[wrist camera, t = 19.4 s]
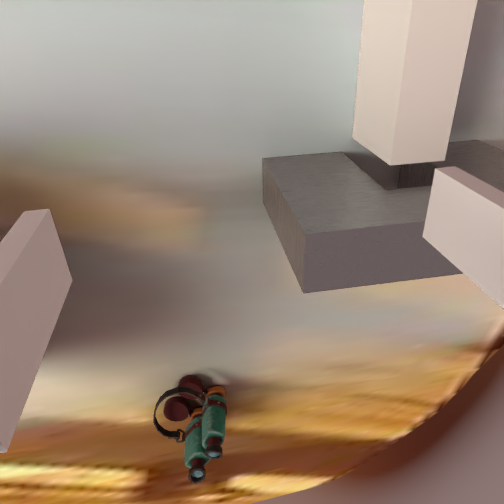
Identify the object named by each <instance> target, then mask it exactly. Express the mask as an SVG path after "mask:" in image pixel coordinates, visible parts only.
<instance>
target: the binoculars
mask: <svg viewBox="0 0 504 504" xmlns="http://www.w3.org/2000/svg"><path fill="white" fill-rule="evenodd" d="M203 392H204V394H203ZM177 393H179V394H180V395H181V396H182V397H184V398H187V399H199V400H200V401H201V402H202V405H203V407H200V408H196V409H194V410H191V409H189V405H188V403H187V402H186V401H185V400H184V399H183V398H181V397H172V398H169V399H168V400H167V401H166V403H165V407H164V415H165V417H166V418H167V419H169V420H171V421H182V420H185V419H186V418H187V417H188V415H190V418H191V420H192V422H191V423H190V424H189V425H188V426H187V428H186V433H185V432H184V431H183V430H181V429H178V430H177V431H168V430H165V429H164V428H163V427H161V426H160V425H159V424H158V421H157V419H156V417H155V412H156V409H157V407H158V405H159V404H160V403H161V402H162V401H163V400H164V399H165V398H166V397H168V396H171V395H174V394H177ZM205 401H206V402H205ZM204 403H205V404H204ZM226 413H227V406H226V400H225V389H224V388H223V387H221V386H215V387H211V388H209V389H206V388H204V385H203V383H202V382H201V381H200V380H199V379H198V378H196V377H192V376H186V377H183V378H182V379H181V380H180V382H179V386H178V387H177V388H174V389H171V390H168V391H166V392H165V393H164V394H163V395H162V396H161V397H160V398H159V400H158V402H157V404H156V407H155V411H154V425H155V427H156V429H157V431H158V432H160V433H161V434H162V435H163V436H165V437H168V438H169V439H170V438H174V439H176V442H177V443H180V442H183V441H185V465H186V466H187V467H189V468H190V470H189V477H188V478H189V481H190V482H191V483H194V484H198V483H201V482H202V481H203V480H204V479H205V477H206V470H205V468H204V466H205V465H206V464H207V463H208V462H209V461H210V460H211V459H219V458H222V456H223V455H222V447H221V445H222V443H223V441H224V437H225V419H226ZM179 431H181V432H183V436H182V441H178V439H179V438H180V432H179Z"/></svg>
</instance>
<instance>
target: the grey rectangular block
mask: <svg viewBox="0 0 504 504" xmlns="http://www.w3.org/2000/svg"><path fill="white" fill-rule="evenodd" d="M476 5H477V0H364V7H363V19H362V31H361V42H360V54H359V66H358V78H357V90H356V101H355V113H354V125H353V137H352V138H353V139H354V140H356V141H357V142H358V143H360V144H361V145H363V146H364V147H365V148H367V149H368V150H369V151H371V152H372V153H374V154H375V155H376V156H378V157H379V158H380V159H382V160H383V161H385V162H386V163H387V164H389V165H390V166H391V165H401V164H412V163H423V162H434V161H445V156H446V152H447V147H448V142H449V137H450V132H451V127H452V122H453V117H454V112H455V108H456V103H457V98H458V93H459V88H460V83H461V78H462V73H463V69H464V64H465V59H466V54H467V49H468V44H469V39H470V34H471V29H472V25H473V20H474V15H475V10H476Z"/></svg>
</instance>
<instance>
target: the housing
mask: <svg viewBox="0 0 504 504" xmlns="http://www.w3.org/2000/svg"><path fill="white" fill-rule="evenodd" d="M453 166H456V167H457V168H459V169H461V170H463V171H465V172H467V173H469V174H470V175H472V176H474V177H476V178H478V179H480V180H482V181H483V182H485V183H487V184H489V185H491V186H493V187H495V188H496V189H498V190H500V191H502V192H504V151H501V150H499V149H497V148H494V147H492V146H490V145H487V144H485V143H483V142H480V141H478V140H472V141H460V142H448V147H447V152H446V156H445V161H434V162H423V163H412V164H401V169H400V176H399V182H398V189H391V190H385V189H384V188H383V187H382V186H381V185H380V184H378V183H377V182H376V181H375V180H374V179H373V178H371V177H370V176H369V175H368V174H367V173H366V172H364V171H363V170H362V169H361V168H360V167H359V166H357V165H356V164H355V163H354V162H353V161H352V160H350V159H349V158H348V157H347V156H346V155H345V154H343V153H342V152H332V153H320V154H309V155H297V156H286V157H274V158H262V167H263V203H264V205H265V208H266V210H267V212H268V214H269V217H270V219H271V221H272V223H273V226H274V228H275V230H276V232H277V235H278V237H279V239H280V242H281V244H282V246H283V248H284V251H285V253H286V255H287V257H288V260H289V262H290V264H291V266H292V269H293V271H294V273H295V275H296V278H297V280H298V282H299V285H300V287H301V289H302V291H303V293H310V292H318V291H326V290H334V289H342V288H350V287H358V286H367V285H375V284H383V283H391V282H399V281H407V280H415V279H423V278H431V277H439V276H447V275H455V274H463V273H462V272H461V271H460V270H459V269H458V268H457V267H456V266H455V265H453V264H452V263H451V262H450V261H449V260H448V259H447V258H446V257H445V256H443V255H442V254H441V253H440V252H439V251H438V250H437V249H436V248H434V247H433V246H432V245H431V244H430V243H429V242H428V241H427V240H426V239H424V238H423V237H422V236H423V231H424V226H425V220H426V215H427V210H428V204H429V199H430V194H431V188H432V183H433V178H434V172H435V168H444V167H453Z"/></svg>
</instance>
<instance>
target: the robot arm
mask: <svg viewBox="0 0 504 504" xmlns="http://www.w3.org/2000/svg"><path fill="white" fill-rule="evenodd" d="M422 237H423V238H424V239H426V240H427V241H428V242H429V243H430V244H431V245H432V246H433V247H434V248H436V249H437V250H438V251H439V252H440V253H441V254H442V255H443V256H445V257H446V258H447V259H448V260H449V261H450V262H451V263H452V264H453V265H455V266H456V267H457V268H458V269H459V270H460V271H461V272H462V273H464V274H465V275H466V276H467V277H468V278H469V279H470V280H471V281H472V282H474V283H475V284H476V285H477V286H478V287H479V288H480V289H481V290H483V291H484V292H485V293H486V294H487V295H488V296H489V297H490V298H491V299H493V300H494V301H495V302H496V303H497V304H498V305H499V306H500V307H502V308H503V309H504V192H502V191H500V190H498V189H496V188H495V187H493V186H491V185H489V184H487V183H485V182H483V181H482V180H480V179H478V178H476V177H474V176H472V175H470V174H469V173H467V172H465V171H463V170H461V169H459V168H457V167H456V166H453V167H444V168H435V172H434V178H433V183H432V188H431V194H430V199H429V204H428V210H427V215H426V220H425V226H424V231H423V236H422ZM72 281H73V280H72V277H71V274H70V271H69V268H68V264H67V261H66V258H65V255H64V252H63V249H62V246H61V243H60V240H59V237H58V234H57V230H56V227H55V224H54V221H53V218H52V215H51V212H50V209H41V210H31V211H24V212H23V213H22V215H21V216H20V217H19V219H18V220H17V221H16V222H15V224H14V225H13V226H12V228H11V229H10V230H9V232H8V233H7V234H6V236H5V237H4V238H3V239H2V241H1V242H0V453H5V452H7V450H8V447H9V445H10V442H11V440H12V437H13V434H14V432H15V429H16V427H17V424H18V421H19V419H20V416H21V414H22V411H23V408H24V406H25V403H26V400H27V398H28V395H29V393H30V390H31V387H32V385H33V382H34V380H35V377H36V374H37V372H38V369H39V367H40V364H41V361H42V359H43V356H44V354H45V351H46V348H47V346H48V343H49V341H50V338H51V335H52V333H53V330H54V328H55V325H56V322H57V320H58V317H59V315H60V312H61V309H62V307H63V304H64V302H65V299H66V296H67V294H68V291H69V288H70V286H71V283H72Z"/></svg>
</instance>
